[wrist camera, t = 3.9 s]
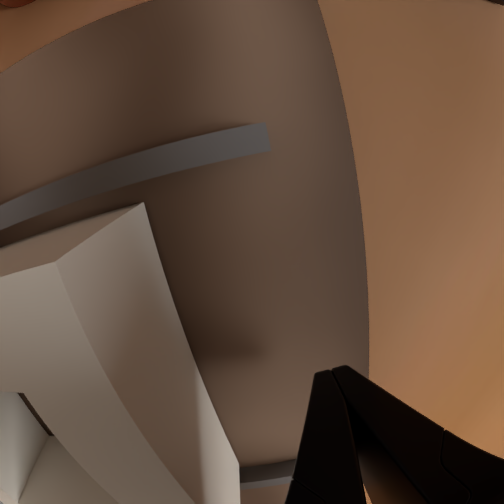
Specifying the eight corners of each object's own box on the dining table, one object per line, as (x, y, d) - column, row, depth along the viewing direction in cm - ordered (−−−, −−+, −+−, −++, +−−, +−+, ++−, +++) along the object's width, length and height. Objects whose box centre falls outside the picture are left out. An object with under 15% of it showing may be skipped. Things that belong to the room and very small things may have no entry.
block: (143, 201, 7) (55, 261, 3) (238, 463, 10) (242, 551, 6) (-67, 275, 7) (-131, 320, 3) (43, 457, 10) (18, 516, 7)
